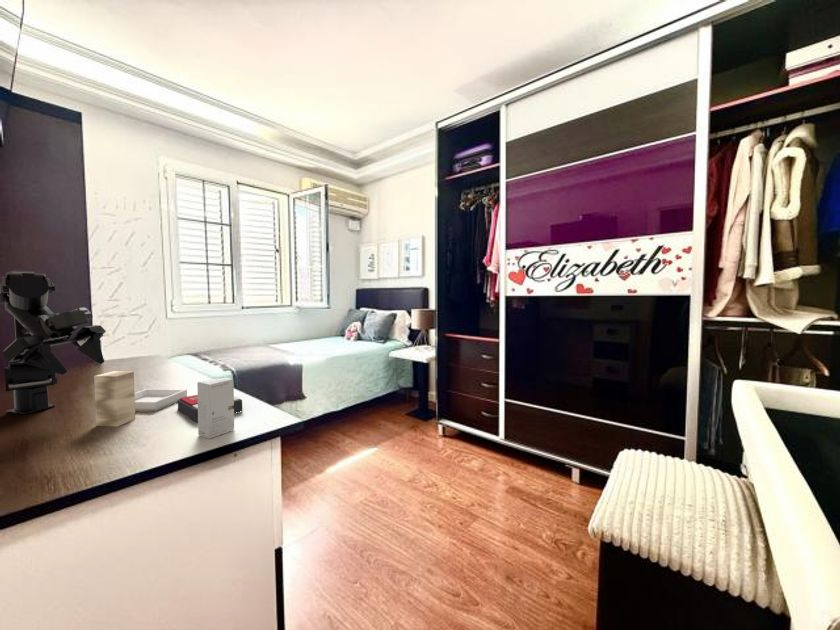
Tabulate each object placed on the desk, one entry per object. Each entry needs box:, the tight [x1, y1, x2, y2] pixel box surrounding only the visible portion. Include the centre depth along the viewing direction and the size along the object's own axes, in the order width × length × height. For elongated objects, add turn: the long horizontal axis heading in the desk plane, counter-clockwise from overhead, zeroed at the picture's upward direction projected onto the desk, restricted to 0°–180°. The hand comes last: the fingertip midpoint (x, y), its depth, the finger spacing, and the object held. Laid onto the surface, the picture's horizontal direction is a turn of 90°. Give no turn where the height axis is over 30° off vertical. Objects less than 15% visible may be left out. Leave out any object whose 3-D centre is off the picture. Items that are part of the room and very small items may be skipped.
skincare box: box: [196, 376, 235, 440], centre depth 77 cm, size 6×4×12 cm
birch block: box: [93, 370, 136, 427], centre depth 82 cm, size 5×5×12 cm
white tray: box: [134, 388, 188, 413], centre depth 96 cm, size 12×12×2 cm
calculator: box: [177, 394, 243, 424], centre depth 91 cm, size 11×4×15 cm
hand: (85, 368), depth 82 cm, fingers open, 9 cm apart
